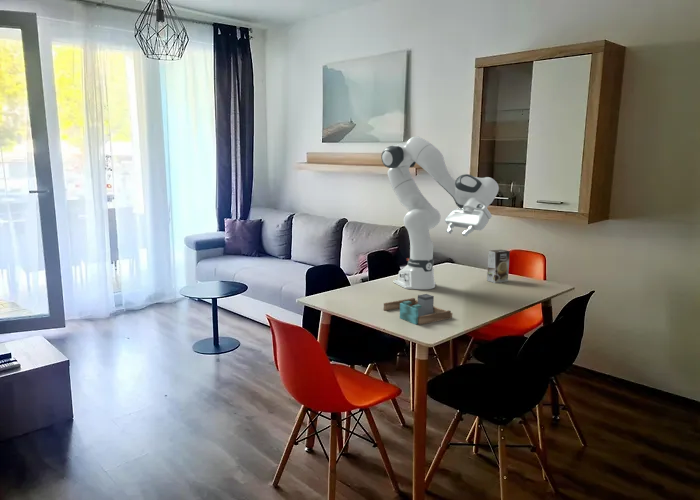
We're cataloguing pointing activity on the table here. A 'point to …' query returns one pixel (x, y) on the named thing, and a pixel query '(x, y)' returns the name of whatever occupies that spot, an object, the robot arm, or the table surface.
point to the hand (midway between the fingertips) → (456, 233)
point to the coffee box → (498, 266)
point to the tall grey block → (425, 304)
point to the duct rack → (416, 311)
